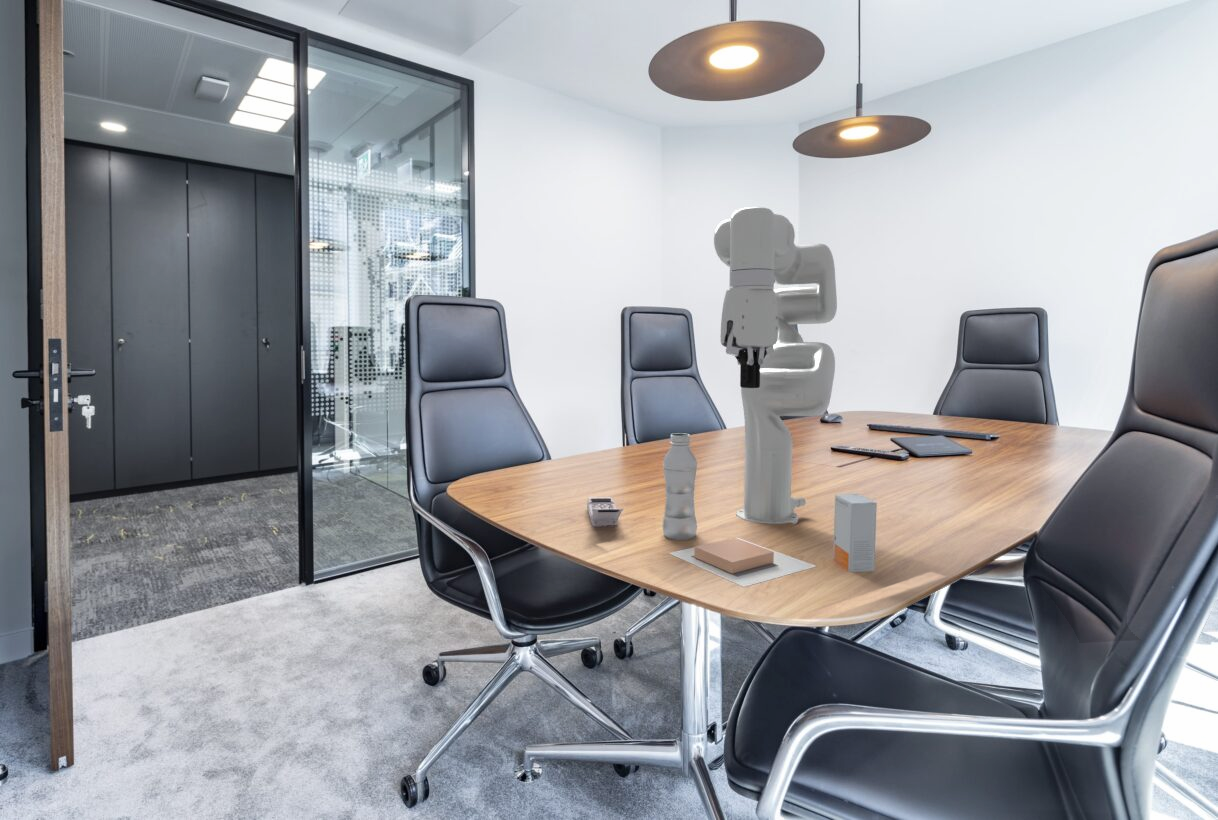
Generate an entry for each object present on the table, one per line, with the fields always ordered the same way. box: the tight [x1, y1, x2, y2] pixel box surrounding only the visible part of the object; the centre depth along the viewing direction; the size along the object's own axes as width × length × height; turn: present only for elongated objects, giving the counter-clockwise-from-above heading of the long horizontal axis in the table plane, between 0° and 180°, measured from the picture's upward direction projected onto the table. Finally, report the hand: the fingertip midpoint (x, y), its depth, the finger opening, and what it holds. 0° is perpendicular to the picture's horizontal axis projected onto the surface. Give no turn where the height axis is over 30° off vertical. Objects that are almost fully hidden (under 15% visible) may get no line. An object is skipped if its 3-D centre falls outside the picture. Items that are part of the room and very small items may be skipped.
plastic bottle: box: [661, 432, 698, 541], centre depth 114 cm, size 6×7×20 cm
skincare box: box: [832, 493, 878, 573], centre depth 98 cm, size 6×4×12 cm
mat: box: [668, 537, 818, 588], centre depth 102 cm, size 16×18×1 cm
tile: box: [694, 537, 774, 574], centre depth 101 cm, size 2×9×9 cm
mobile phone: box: [586, 496, 624, 527], centre depth 129 cm, size 6×6×25 cm
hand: (749, 387), depth 109 cm, fingers closed
